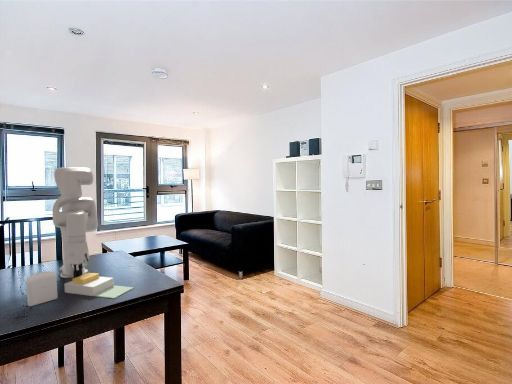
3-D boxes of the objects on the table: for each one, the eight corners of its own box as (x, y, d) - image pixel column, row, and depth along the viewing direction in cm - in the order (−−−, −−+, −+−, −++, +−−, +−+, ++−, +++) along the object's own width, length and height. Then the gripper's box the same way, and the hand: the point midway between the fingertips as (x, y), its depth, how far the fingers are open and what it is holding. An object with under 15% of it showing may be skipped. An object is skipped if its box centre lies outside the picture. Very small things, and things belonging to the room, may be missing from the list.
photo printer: (28, 307, 114) (27, 277, 114) (26, 304, 117) (24, 274, 116) (59, 299, 122) (57, 270, 121) (55, 296, 125) (54, 268, 124)
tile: (72, 283, 129) (72, 278, 129) (89, 276, 138) (88, 272, 138) (83, 284, 128) (82, 279, 128) (99, 277, 136) (99, 273, 136)
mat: (94, 296, 125) (93, 295, 125) (114, 286, 136) (114, 285, 136) (114, 298, 122) (114, 297, 122) (133, 288, 133) (133, 287, 133)
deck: (64, 292, 129) (64, 283, 129) (87, 283, 141) (86, 275, 140) (93, 296, 125) (93, 287, 124) (114, 286, 136) (113, 277, 136)
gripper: (56, 239, 132) (58, 279, 132) (82, 241, 128) (83, 281, 128) (71, 236, 139) (72, 274, 140) (95, 238, 135) (97, 276, 135)
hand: (78, 277), depth 134 cm, fingers closed
